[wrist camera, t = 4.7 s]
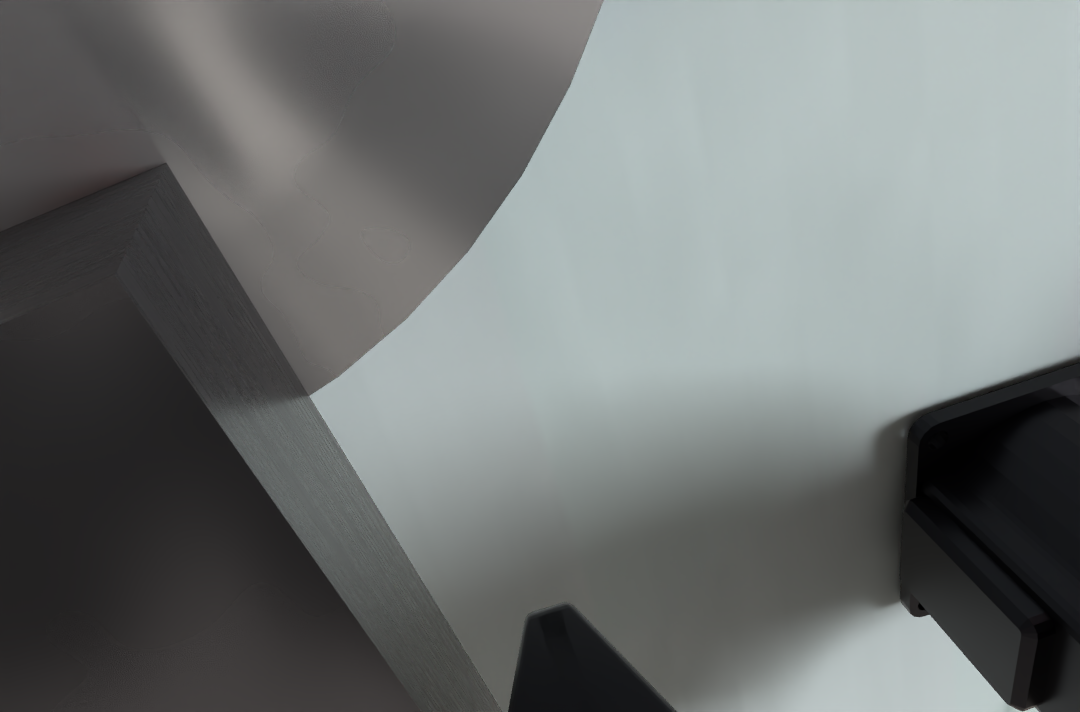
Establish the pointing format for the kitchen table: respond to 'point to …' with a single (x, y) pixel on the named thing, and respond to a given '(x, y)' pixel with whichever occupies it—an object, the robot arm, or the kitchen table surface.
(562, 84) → the lid
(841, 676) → the kitchen table surface
